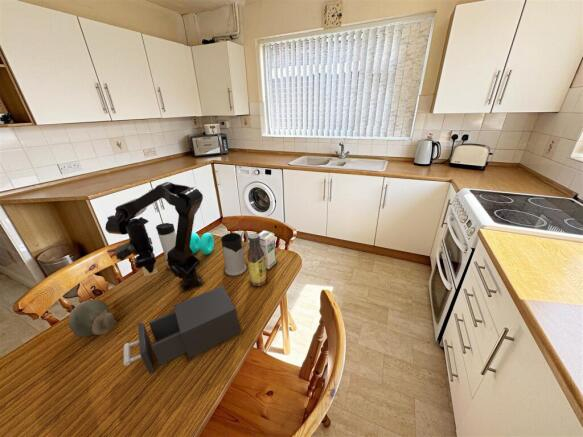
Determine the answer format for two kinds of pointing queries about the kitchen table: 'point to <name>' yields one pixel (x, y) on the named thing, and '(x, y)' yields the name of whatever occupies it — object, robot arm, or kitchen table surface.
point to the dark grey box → (206, 320)
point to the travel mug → (166, 237)
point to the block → (148, 272)
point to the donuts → (202, 243)
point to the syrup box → (268, 248)
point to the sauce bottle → (256, 261)
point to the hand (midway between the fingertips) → (150, 269)
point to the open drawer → (158, 342)
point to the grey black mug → (234, 253)
